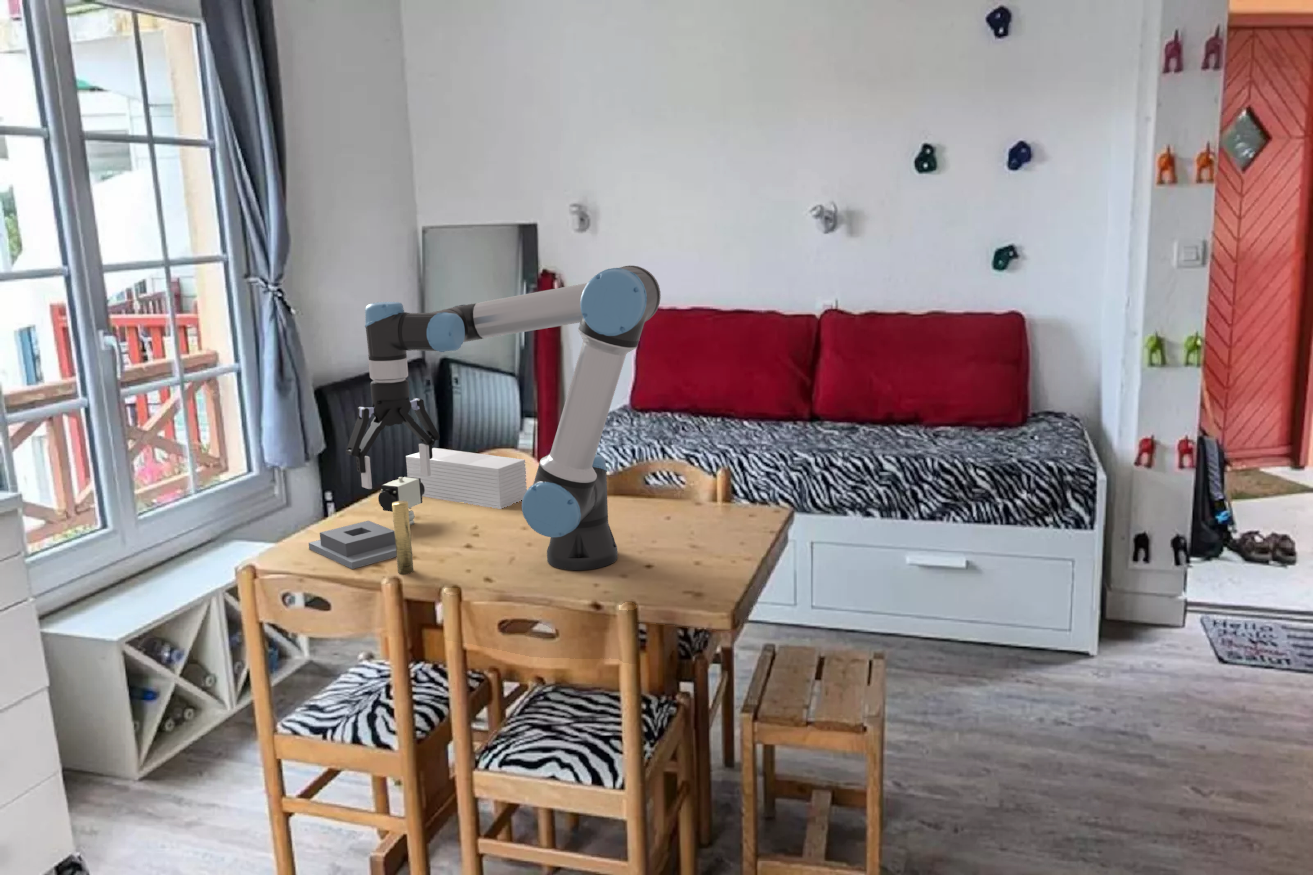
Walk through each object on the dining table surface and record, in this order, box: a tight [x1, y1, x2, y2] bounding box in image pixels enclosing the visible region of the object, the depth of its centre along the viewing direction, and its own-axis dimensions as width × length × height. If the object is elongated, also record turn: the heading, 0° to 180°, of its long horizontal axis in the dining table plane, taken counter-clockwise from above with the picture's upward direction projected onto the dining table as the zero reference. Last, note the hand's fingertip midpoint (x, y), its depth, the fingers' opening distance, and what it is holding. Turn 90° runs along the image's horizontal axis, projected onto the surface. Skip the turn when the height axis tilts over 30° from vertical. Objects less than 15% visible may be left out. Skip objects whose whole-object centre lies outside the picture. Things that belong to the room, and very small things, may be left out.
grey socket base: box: [308, 520, 397, 570], centre depth 231 cm, size 20×14×4 cm
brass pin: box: [392, 501, 414, 575], centre depth 216 cm, size 3×3×15 cm
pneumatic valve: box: [378, 476, 425, 526], centre depth 249 cm, size 6×12×12 cm, turn 153°
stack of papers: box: [405, 447, 528, 510], centre depth 273 cm, size 32×11×11 cm, turn 58°
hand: (397, 481), depth 213 cm, fingers open, 13 cm apart
